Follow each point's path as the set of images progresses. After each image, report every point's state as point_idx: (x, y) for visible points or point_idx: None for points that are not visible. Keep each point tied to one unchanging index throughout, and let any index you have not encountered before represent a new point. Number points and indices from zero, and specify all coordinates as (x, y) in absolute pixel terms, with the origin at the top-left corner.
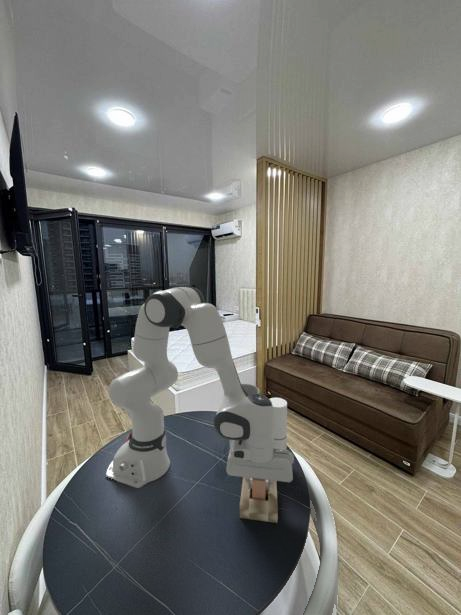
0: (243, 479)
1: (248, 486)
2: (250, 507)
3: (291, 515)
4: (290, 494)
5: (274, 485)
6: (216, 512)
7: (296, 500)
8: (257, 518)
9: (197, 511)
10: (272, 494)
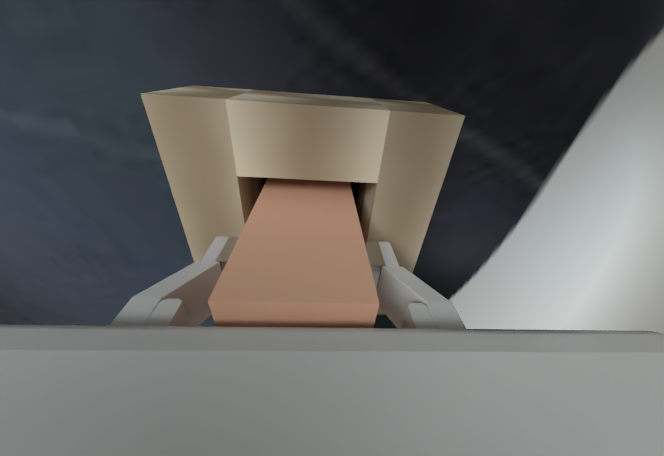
0: (162, 144)
1: None
2: None
3: (452, 238)
4: (506, 127)
5: (427, 181)
6: (122, 253)
7: (518, 164)
8: None
9: (35, 257)
10: (393, 245)
